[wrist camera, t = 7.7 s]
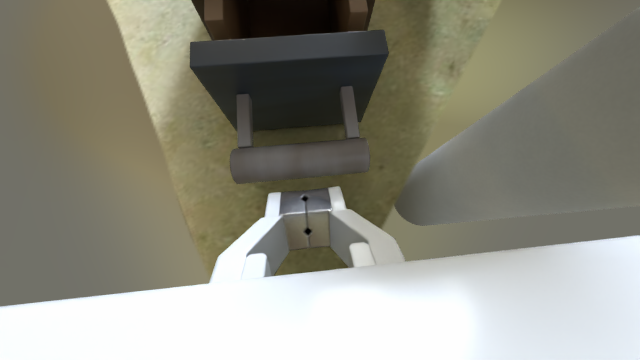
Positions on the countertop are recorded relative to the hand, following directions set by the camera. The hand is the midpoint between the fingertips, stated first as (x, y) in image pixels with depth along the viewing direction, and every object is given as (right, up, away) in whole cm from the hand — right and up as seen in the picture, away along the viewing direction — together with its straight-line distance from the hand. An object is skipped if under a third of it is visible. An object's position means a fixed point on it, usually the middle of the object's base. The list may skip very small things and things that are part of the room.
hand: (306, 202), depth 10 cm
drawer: (-1, +7, +6) cm, 9 cm away
